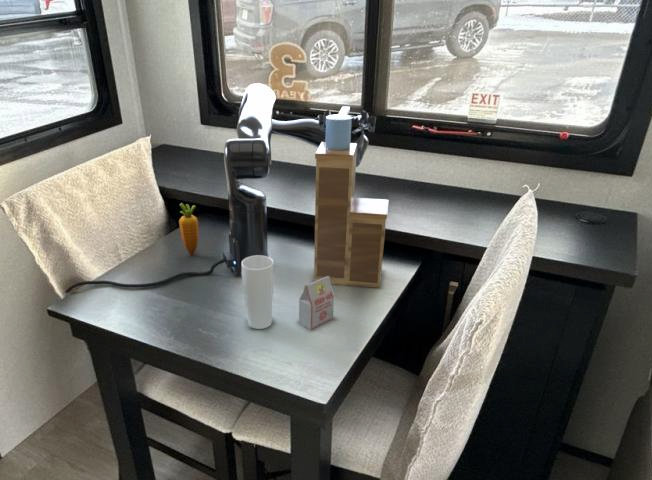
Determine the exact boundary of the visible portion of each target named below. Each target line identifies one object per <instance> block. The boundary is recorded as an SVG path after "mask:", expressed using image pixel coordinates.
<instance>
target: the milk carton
mask: <svg viewBox="0 0 652 480" xmlns="http://www.w3.org/2000/svg"><path fill="white" fill-rule="evenodd" d="M334 307H335V293H334V289H333V286H332V284H331V282H330V276H326V277H324V278H322V279H319V280H317V281H315V282H314V281H313V282H310V283H307V284H306V285H304V288H303V291H302V293H301V295H300V297H299V298H298V315H299V316H298V323H299V324H300V325H301V326H303V327H304V328H306V329H308V330H310V331H311V330H313V329H315V328H318V327H320V326H321V325H324V324H326V323H327V322H330V321H332V320H333V319H334V313H335V311H334V309H335V308H334Z"/></svg>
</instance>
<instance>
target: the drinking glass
mask: <svg viewBox="0 0 652 480" xmlns="http://www.w3.org/2000/svg"><path fill="white" fill-rule="evenodd" d="M274 262H275V261H274V260H273V259H272V257H270V256H269V257H267V256H262V255H255V256H250V257H247V258H245V259H244V260H243V261H242V263H241V265H242V266H241V270H242V276H241V282H242V283H241V284H242V290H243V296H244V301H245V310H246V319H247V325H248V326H249V327H250V328H252V329H256V330H264V329H266V328H267V329H268V327H270V326H271V325H272V323H273V305H274V292H275V291H274V289H275V263H274Z"/></svg>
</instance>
